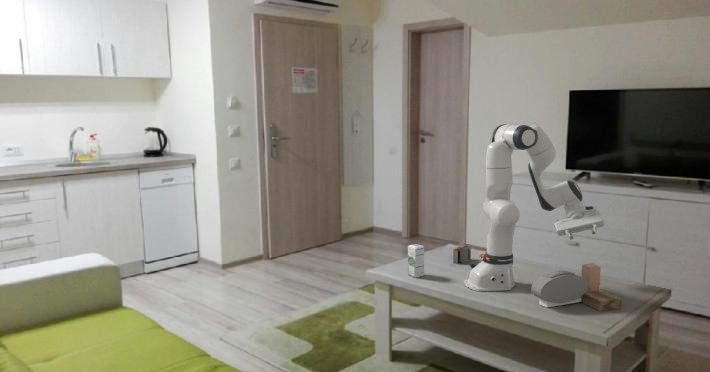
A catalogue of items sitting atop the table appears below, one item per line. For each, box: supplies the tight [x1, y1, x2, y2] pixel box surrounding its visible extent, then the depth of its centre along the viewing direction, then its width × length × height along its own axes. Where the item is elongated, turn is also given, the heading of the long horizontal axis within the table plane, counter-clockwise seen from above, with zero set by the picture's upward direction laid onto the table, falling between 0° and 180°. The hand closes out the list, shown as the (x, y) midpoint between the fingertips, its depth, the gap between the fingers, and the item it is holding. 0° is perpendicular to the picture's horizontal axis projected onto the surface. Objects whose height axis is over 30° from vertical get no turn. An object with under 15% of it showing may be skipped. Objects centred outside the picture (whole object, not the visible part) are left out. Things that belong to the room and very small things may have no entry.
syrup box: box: [407, 243, 425, 279], centre depth 255 cm, size 6×6×14 cm
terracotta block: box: [581, 262, 601, 292], centre depth 226 cm, size 5×5×13 cm
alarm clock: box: [530, 270, 589, 308], centre depth 218 cm, size 23×6×13 cm, turn 109°
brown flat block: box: [452, 244, 472, 265], centre depth 278 cm, size 11×3×10 cm, turn 133°
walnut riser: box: [582, 289, 623, 312], centre depth 216 cm, size 10×10×4 cm
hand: (582, 235), depth 235 cm, fingers open, 8 cm apart
